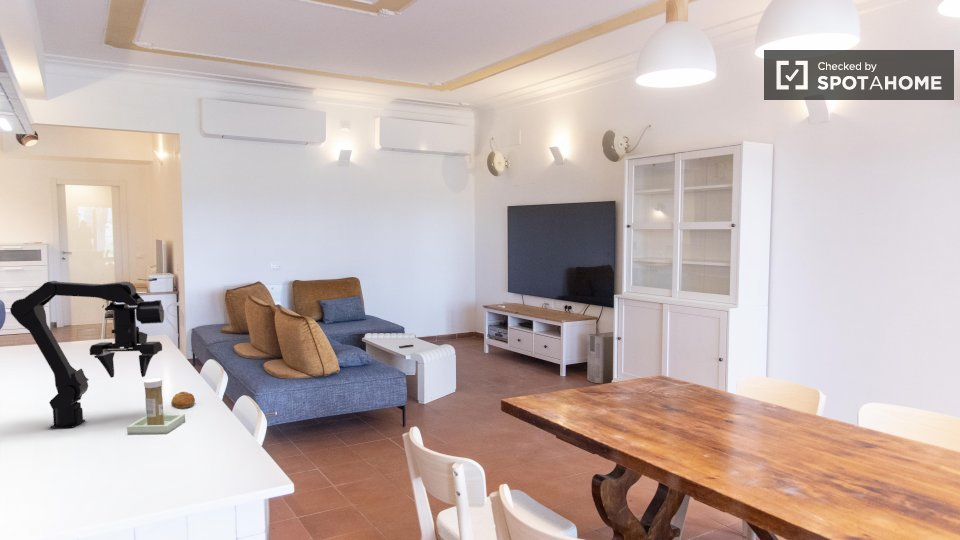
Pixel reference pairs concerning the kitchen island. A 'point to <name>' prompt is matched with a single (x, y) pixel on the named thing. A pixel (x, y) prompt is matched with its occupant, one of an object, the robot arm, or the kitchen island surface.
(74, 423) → the robot arm
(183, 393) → the pastry
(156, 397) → the sprinkles bottle
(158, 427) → the tray
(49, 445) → the kitchen island surface
